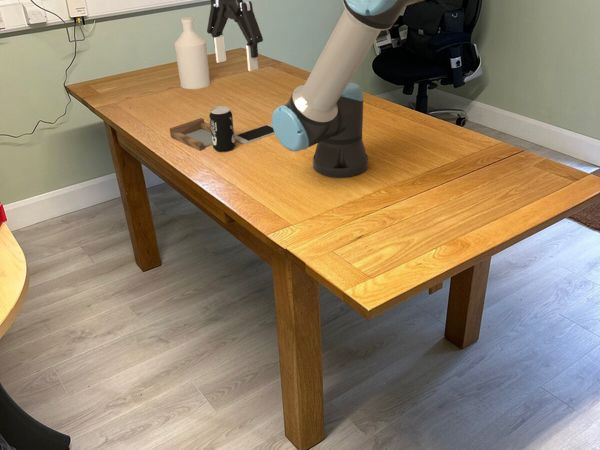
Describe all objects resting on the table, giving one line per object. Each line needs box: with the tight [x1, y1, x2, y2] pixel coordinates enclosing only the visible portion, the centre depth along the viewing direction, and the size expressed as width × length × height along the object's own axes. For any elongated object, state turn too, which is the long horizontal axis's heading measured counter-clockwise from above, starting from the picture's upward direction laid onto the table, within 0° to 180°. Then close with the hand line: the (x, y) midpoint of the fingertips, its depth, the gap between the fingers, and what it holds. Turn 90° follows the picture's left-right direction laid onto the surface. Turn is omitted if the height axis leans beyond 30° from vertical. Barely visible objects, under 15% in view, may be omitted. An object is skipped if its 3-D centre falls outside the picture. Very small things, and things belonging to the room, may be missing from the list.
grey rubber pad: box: [186, 129, 213, 149], centre depth 181 cm, size 12×8×1 cm
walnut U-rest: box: [169, 117, 211, 151], centre depth 181 cm, size 16×12×3 cm
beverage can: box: [208, 106, 236, 153], centre depth 171 cm, size 7×7×12 cm
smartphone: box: [234, 123, 275, 145], centre depth 183 cm, size 7×15×1 cm, turn 130°
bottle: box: [173, 16, 211, 90], centre depth 223 cm, size 12×12×25 cm
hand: (237, 65), depth 155 cm, fingers open, 13 cm apart
